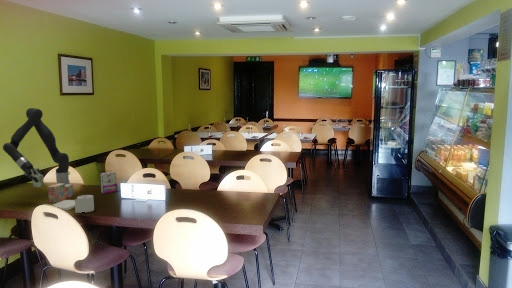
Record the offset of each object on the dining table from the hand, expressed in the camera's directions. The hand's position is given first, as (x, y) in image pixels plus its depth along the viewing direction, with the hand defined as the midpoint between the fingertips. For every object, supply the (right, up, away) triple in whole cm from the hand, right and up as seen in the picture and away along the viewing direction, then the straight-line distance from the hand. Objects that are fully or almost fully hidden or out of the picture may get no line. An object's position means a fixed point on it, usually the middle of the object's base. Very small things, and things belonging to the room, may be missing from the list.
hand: (40, 180), depth 309 cm
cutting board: (+20, -18, -2) cm, 27 cm away
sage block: (-2, -4, +1) cm, 5 cm away
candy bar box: (+37, -13, +39) cm, 55 cm away
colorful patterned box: (+7, -16, +18) cm, 25 cm away
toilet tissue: (+40, -20, -15) cm, 47 cm away
